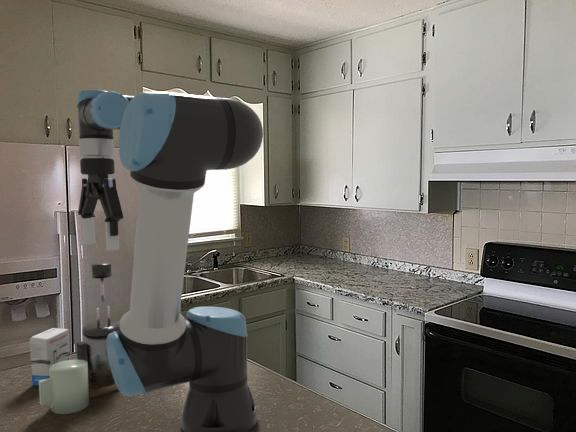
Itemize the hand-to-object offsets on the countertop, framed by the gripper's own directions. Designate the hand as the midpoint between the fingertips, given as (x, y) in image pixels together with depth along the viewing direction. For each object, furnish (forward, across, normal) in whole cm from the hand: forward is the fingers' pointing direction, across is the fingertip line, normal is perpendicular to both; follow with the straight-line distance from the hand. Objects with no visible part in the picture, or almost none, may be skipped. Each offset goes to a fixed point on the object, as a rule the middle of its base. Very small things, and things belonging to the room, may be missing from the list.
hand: (100, 247), depth 118 cm
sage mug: (+33, -7, +12) cm, 36 cm away
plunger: (+13, 0, 0) cm, 13 cm away
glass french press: (+33, 0, 0) cm, 33 cm away
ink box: (+33, +11, +9) cm, 36 cm away
